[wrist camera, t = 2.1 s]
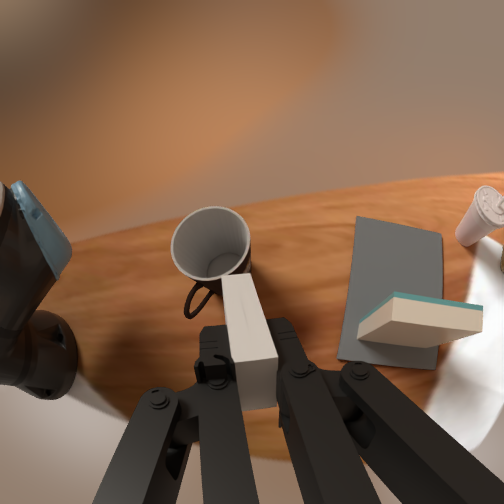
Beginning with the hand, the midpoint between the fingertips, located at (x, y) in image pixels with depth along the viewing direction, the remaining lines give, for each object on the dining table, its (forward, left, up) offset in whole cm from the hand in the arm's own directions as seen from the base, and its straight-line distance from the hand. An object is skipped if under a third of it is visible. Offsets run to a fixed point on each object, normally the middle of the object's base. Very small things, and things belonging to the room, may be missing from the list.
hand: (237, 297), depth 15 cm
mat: (+16, +9, -22) cm, 29 cm away
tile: (+16, +3, -21) cm, 27 cm away
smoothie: (+28, +20, -22) cm, 41 cm away
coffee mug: (-8, +6, -22) cm, 24 cm away
